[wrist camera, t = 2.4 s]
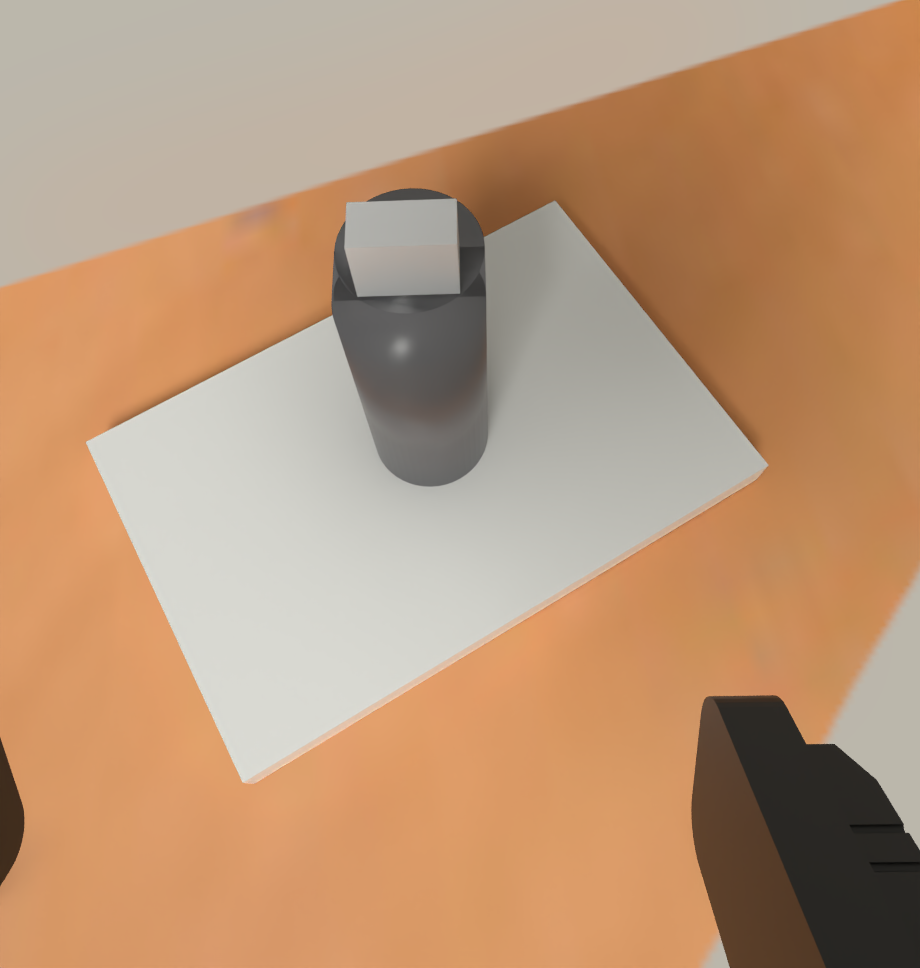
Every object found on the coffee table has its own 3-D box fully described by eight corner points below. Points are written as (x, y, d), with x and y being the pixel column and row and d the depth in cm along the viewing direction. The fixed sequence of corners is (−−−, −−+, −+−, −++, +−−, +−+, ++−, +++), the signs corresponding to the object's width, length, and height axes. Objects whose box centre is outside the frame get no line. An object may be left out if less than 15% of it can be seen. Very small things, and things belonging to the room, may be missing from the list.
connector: (489, 484, 25) (487, 320, 16) (373, 487, 25) (311, 325, 17) (485, 344, 27) (482, 129, 18) (377, 348, 27) (323, 135, 18)
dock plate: (254, 783, 23) (242, 782, 22) (102, 456, 27) (85, 442, 26) (756, 479, 26) (768, 465, 25) (552, 222, 30) (555, 200, 29)
